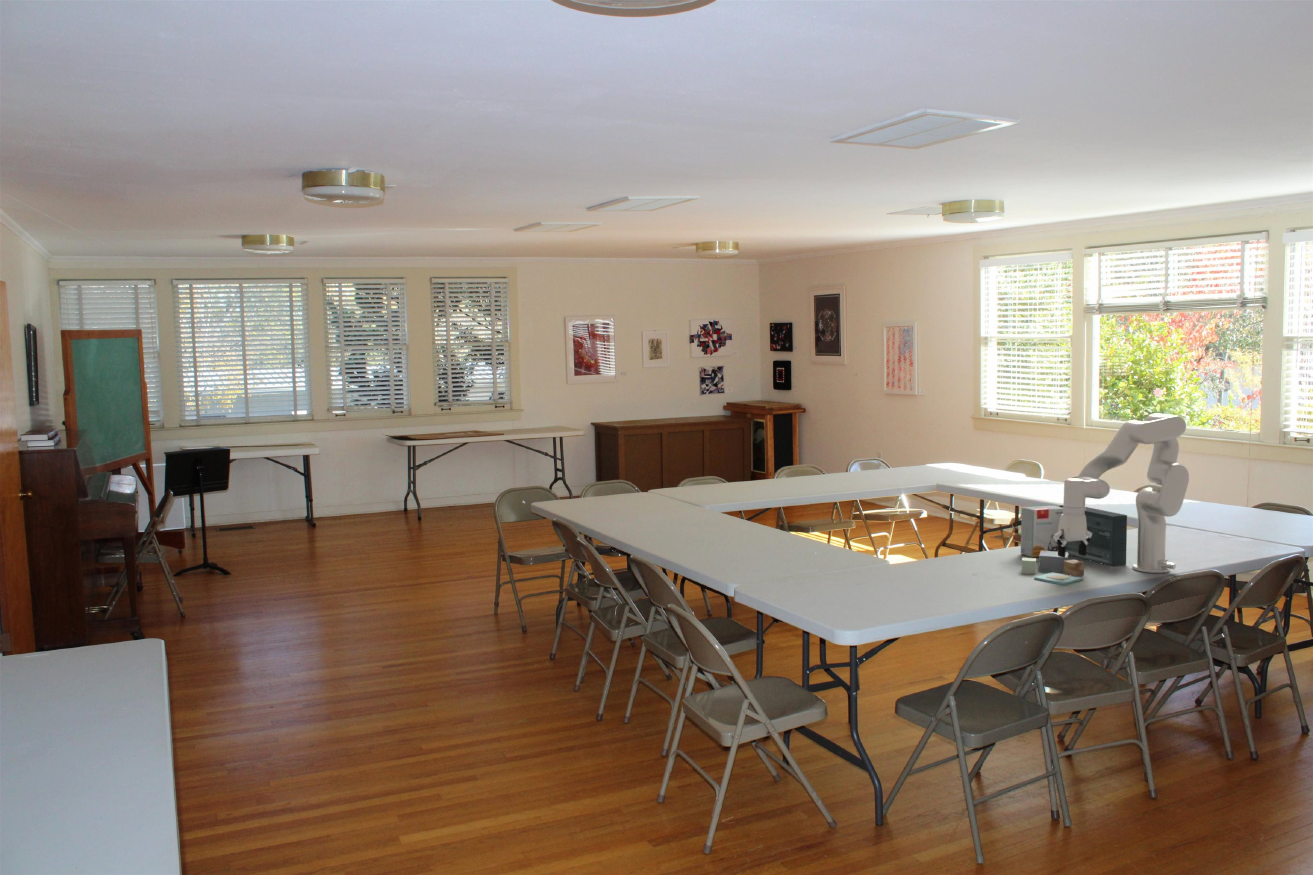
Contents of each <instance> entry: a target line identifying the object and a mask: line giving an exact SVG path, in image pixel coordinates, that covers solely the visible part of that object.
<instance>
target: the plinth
mask: <svg viewBox="0 0 1313 875" xmlns="http://www.w3.org/2000/svg"><path fill="white" fill-rule="evenodd" d="M1038 558H1039V559H1038V570H1039V571H1043V572H1054V573H1063V572H1064V561H1067V560H1069V555H1068V552H1065V557H1060V556H1058V552H1056V551H1041V552H1040V555H1039V557H1038Z"/></svg>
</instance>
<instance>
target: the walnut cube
mask: <svg viewBox="0 0 1313 875" xmlns="http://www.w3.org/2000/svg"><path fill="white" fill-rule="evenodd" d="M1062 574H1065V575H1071V576H1075V577H1081V576H1084V575H1085V562H1084V561H1082V560H1077V559H1068V560H1067V561H1064V572H1062Z"/></svg>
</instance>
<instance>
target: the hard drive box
mask: <svg viewBox="0 0 1313 875" xmlns="http://www.w3.org/2000/svg"><path fill="white" fill-rule="evenodd" d="M1020 514H1021V523H1020V524H1021V526H1020V527H1021V528H1020V554H1021V555H1024V556H1027V557H1029V558H1039V555H1040V552H1041V551H1056V552H1058V545H1057V544H1056V542H1055V540H1054V537H1053V535H1054V534H1056V533H1057V532H1058V527H1059V521H1060V517H1061V514H1063V508H1061V507H1059V506H1056V505H1041V506H1040V505H1039V506H1022V507H1021V512H1020ZM1059 540H1060V539H1059ZM1062 542H1063V541H1062Z"/></svg>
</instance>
